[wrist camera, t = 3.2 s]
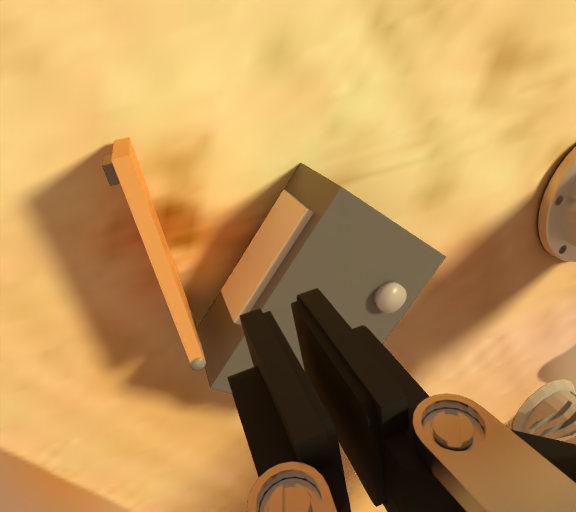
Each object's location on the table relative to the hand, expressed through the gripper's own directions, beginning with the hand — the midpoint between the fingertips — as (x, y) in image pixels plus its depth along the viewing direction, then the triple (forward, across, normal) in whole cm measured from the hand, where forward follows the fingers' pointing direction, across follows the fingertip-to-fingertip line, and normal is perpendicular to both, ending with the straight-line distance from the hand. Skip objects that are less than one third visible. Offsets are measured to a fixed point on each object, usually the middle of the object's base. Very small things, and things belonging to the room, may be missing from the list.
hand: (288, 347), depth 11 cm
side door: (+17, +3, +3) cm, 17 cm away
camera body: (+17, -5, +9) cm, 20 cm away
